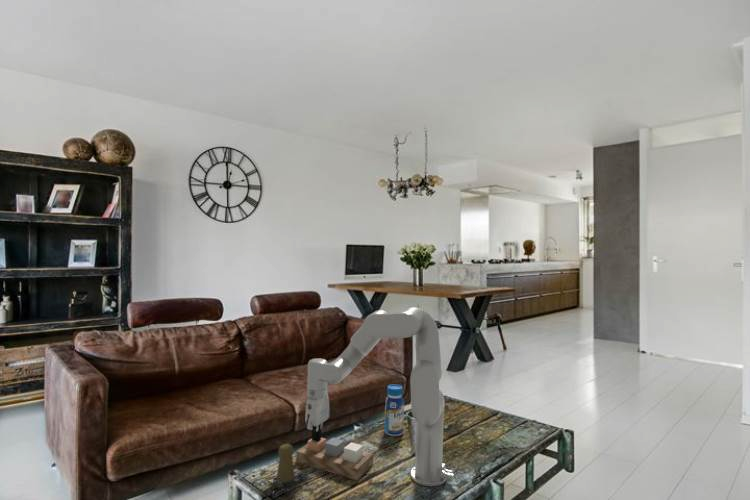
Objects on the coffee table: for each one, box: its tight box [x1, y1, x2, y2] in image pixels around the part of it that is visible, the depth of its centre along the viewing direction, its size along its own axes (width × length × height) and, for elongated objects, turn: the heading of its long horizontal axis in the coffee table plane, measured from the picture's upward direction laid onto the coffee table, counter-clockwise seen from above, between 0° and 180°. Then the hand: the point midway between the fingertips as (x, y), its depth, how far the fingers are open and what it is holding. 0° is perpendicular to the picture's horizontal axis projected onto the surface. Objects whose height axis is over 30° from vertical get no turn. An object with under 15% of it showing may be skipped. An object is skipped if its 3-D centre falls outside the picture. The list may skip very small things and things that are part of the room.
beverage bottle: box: [384, 383, 405, 437], centre depth 186 cm, size 8×8×20 cm
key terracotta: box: [307, 437, 327, 453], centre depth 163 cm, size 5×5×5 cm
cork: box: [276, 443, 295, 483], centre depth 150 cm, size 6×6×11 cm
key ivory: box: [344, 442, 364, 464], centre depth 156 cm, size 5×5×5 cm
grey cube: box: [325, 437, 345, 458], centre depth 159 cm, size 5×5×5 cm
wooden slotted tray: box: [295, 440, 374, 481], centre depth 160 cm, size 26×12×4 cm, turn 63°
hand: (316, 439), depth 163 cm, fingers closed
